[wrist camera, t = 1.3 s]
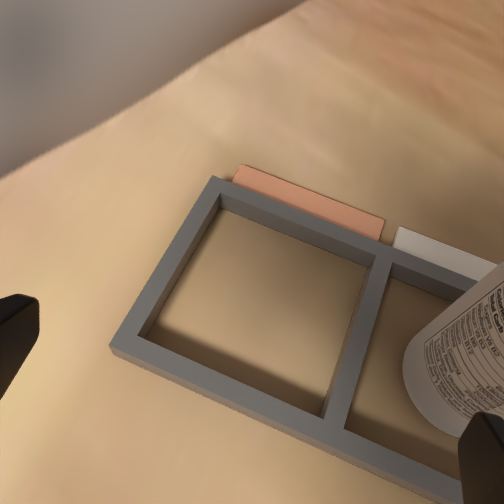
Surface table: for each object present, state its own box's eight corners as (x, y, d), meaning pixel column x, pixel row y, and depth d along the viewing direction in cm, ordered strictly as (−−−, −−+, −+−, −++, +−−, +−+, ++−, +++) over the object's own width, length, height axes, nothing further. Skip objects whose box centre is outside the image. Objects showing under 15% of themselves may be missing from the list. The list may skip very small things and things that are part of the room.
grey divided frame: (565, 296, 29) (583, 286, 27) (550, 554, 22) (573, 557, 20) (227, 163, 31) (228, 148, 30) (113, 354, 24) (108, 345, 23)
